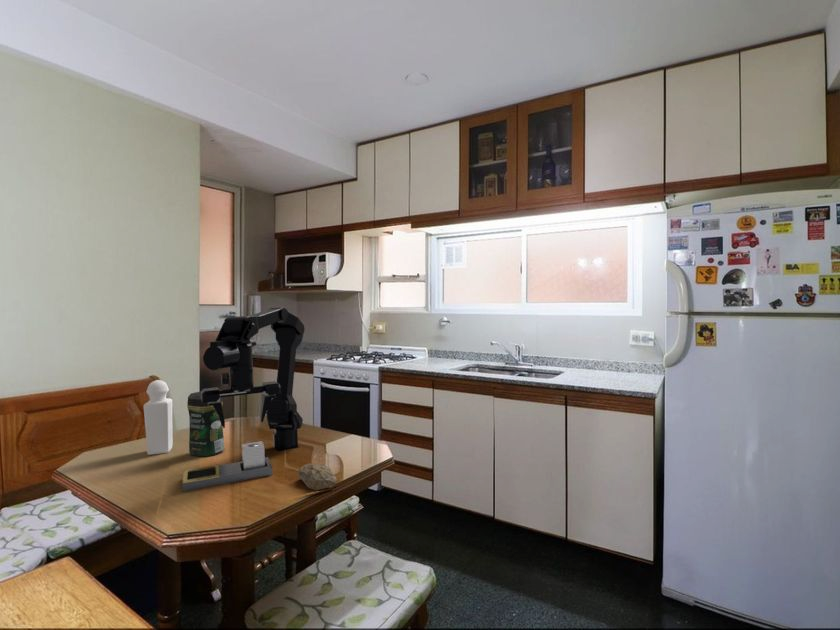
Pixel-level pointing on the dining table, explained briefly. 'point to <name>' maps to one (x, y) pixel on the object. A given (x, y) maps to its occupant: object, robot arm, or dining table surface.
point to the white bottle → (158, 418)
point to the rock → (317, 476)
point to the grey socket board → (222, 475)
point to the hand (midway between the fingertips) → (243, 424)
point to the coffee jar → (204, 427)
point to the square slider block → (253, 455)
